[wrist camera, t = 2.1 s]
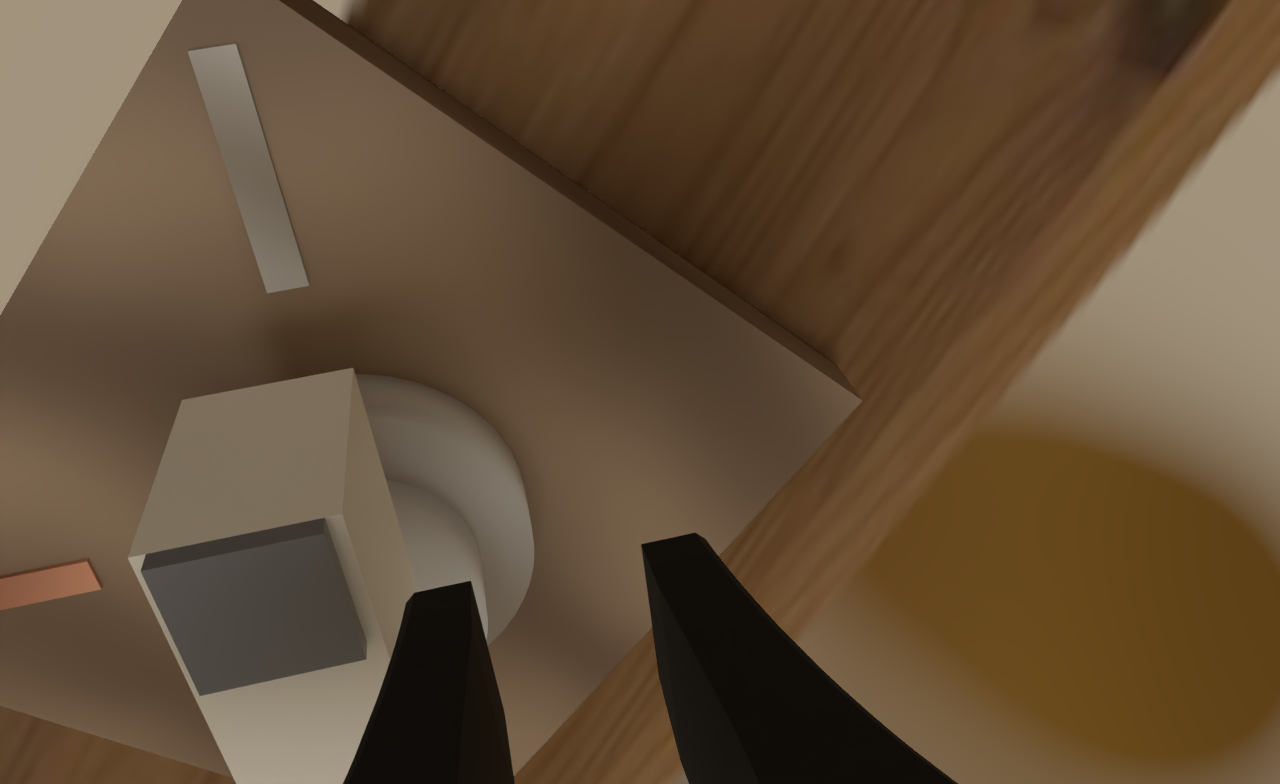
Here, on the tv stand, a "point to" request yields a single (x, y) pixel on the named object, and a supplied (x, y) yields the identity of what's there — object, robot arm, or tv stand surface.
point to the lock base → (369, 364)
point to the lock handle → (289, 570)
